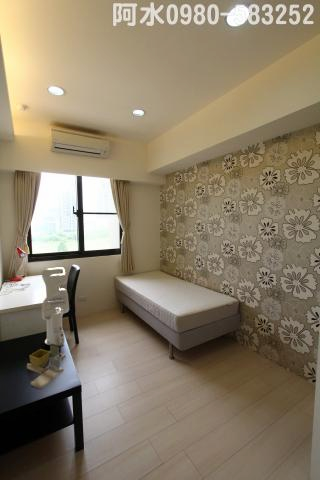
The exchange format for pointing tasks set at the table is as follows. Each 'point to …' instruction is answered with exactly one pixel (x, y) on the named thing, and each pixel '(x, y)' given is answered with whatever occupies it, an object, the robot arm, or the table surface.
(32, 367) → the wooden frame with block
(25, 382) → the table surface
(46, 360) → the flower pot
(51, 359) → the beige l-shaped piece
